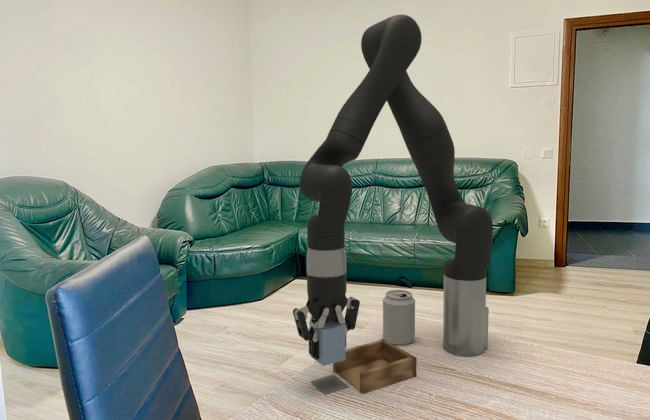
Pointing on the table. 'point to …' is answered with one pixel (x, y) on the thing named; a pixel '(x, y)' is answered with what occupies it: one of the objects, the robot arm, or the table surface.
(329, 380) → the coaster
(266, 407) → the table surface
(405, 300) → the can
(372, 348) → the crate
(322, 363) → the block
